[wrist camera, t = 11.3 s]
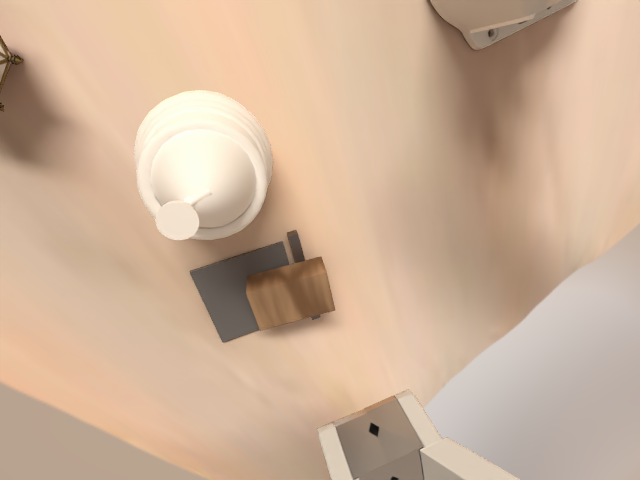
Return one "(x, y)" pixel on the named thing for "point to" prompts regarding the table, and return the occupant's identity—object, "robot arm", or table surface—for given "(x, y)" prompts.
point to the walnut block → (289, 293)
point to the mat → (235, 288)
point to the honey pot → (202, 165)
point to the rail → (297, 252)
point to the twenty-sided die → (6, 64)
